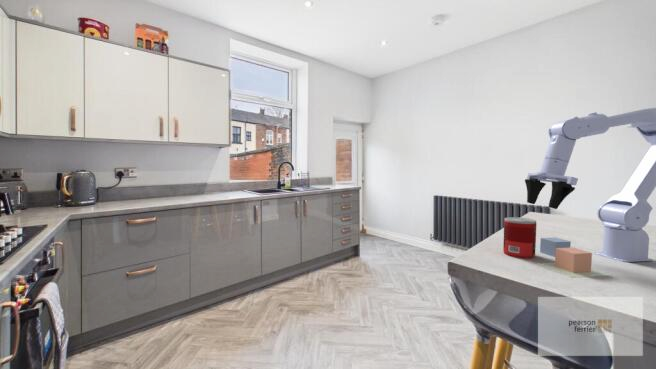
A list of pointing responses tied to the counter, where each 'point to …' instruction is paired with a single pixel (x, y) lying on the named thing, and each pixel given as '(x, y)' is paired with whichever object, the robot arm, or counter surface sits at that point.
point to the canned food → (519, 237)
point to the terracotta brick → (573, 260)
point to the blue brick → (553, 245)
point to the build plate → (570, 274)
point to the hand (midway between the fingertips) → (541, 205)
